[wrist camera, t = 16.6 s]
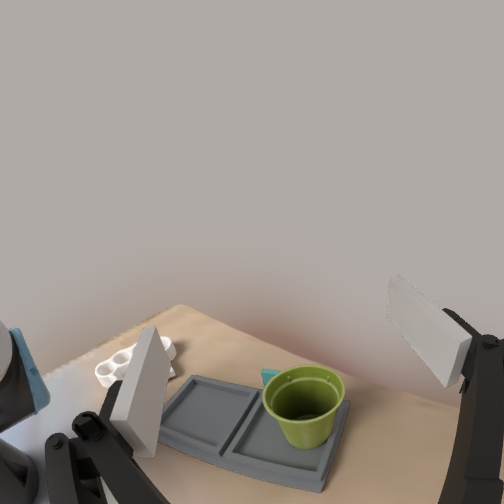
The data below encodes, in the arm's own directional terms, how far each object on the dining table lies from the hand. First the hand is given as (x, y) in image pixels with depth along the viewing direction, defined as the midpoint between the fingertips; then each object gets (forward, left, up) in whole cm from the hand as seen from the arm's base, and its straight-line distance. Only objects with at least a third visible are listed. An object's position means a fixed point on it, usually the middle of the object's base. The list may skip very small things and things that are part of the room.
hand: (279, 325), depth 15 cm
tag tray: (-12, +9, -26) cm, 30 cm away
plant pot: (-3, +10, -25) cm, 27 cm away
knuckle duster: (-39, +14, -27) cm, 49 cm away
